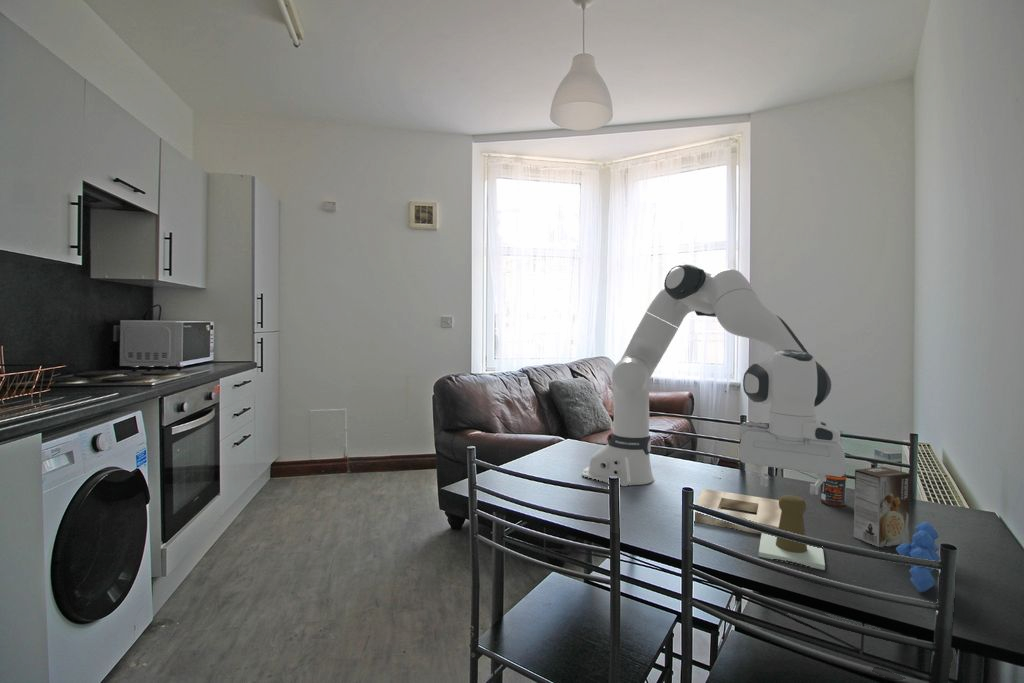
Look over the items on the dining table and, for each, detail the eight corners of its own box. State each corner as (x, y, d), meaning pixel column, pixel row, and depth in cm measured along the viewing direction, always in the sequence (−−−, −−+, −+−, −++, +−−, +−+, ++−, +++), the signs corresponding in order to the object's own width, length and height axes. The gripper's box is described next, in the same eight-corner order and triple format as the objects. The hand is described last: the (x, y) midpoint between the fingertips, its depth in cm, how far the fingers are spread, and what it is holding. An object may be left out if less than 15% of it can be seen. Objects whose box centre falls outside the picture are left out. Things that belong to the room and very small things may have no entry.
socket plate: (690, 521, 126) (691, 511, 126) (703, 497, 144) (703, 488, 144) (781, 537, 117) (781, 527, 117) (782, 510, 134) (782, 500, 134)
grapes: (899, 568, 102) (901, 510, 102) (943, 580, 98) (945, 519, 97) (889, 589, 94) (891, 526, 94) (936, 603, 90) (938, 537, 89)
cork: (798, 541, 113) (800, 492, 112) (812, 553, 107) (814, 502, 106) (770, 540, 113) (771, 491, 113) (783, 552, 107) (784, 501, 107)
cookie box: (881, 532, 120) (884, 465, 120) (909, 543, 114) (912, 473, 113) (852, 536, 118) (854, 468, 117) (879, 548, 111) (881, 476, 111)
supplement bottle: (823, 505, 138) (824, 464, 137) (817, 498, 144) (818, 459, 143) (848, 508, 136) (849, 466, 136) (841, 500, 142) (842, 460, 141)
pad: (758, 556, 107) (758, 551, 107) (761, 535, 118) (761, 531, 118) (824, 570, 102) (824, 565, 102) (821, 547, 112) (821, 542, 112)
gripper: (737, 422, 111) (734, 484, 112) (848, 434, 101) (845, 503, 101) (740, 418, 116) (737, 477, 117) (846, 429, 106) (842, 494, 107)
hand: (788, 489), depth 109 cm, fingers open, 8 cm apart
